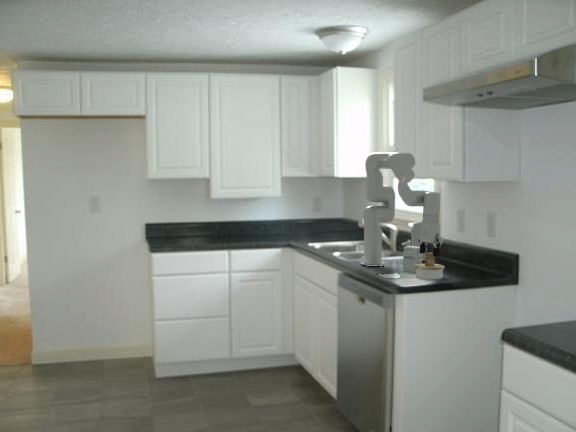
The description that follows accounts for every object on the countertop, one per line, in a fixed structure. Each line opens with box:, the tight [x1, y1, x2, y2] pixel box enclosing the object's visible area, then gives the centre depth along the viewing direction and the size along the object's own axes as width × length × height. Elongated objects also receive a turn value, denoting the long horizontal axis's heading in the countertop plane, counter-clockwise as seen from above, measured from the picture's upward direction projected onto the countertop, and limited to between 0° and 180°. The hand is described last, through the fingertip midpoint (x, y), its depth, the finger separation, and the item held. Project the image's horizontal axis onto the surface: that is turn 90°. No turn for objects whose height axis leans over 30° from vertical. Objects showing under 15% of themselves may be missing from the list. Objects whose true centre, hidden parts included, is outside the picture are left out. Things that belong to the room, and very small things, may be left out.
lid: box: [415, 252, 445, 270], centre depth 282 cm, size 14×14×7 cm
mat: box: [399, 272, 414, 279], centre depth 285 cm, size 14×14×1 cm
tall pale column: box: [410, 221, 428, 261], centre depth 335 cm, size 11×4×22 cm, turn 106°
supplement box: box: [402, 245, 423, 273], centre depth 300 cm, size 7×7×13 cm
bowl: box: [415, 268, 444, 280], centre depth 283 cm, size 12×12×5 cm
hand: (429, 254), depth 282 cm, fingers open, 9 cm apart
